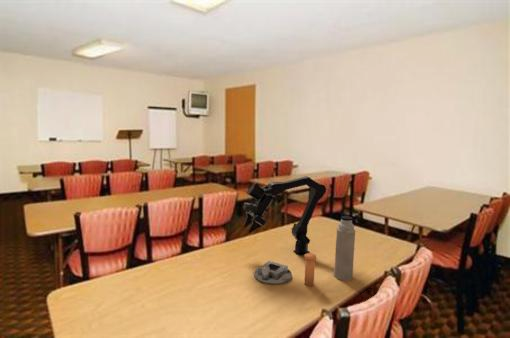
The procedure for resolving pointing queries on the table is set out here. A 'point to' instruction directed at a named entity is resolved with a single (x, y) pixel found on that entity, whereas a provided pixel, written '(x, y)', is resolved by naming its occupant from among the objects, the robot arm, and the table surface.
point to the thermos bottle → (344, 249)
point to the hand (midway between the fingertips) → (246, 229)
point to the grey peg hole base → (273, 273)
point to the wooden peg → (309, 269)
